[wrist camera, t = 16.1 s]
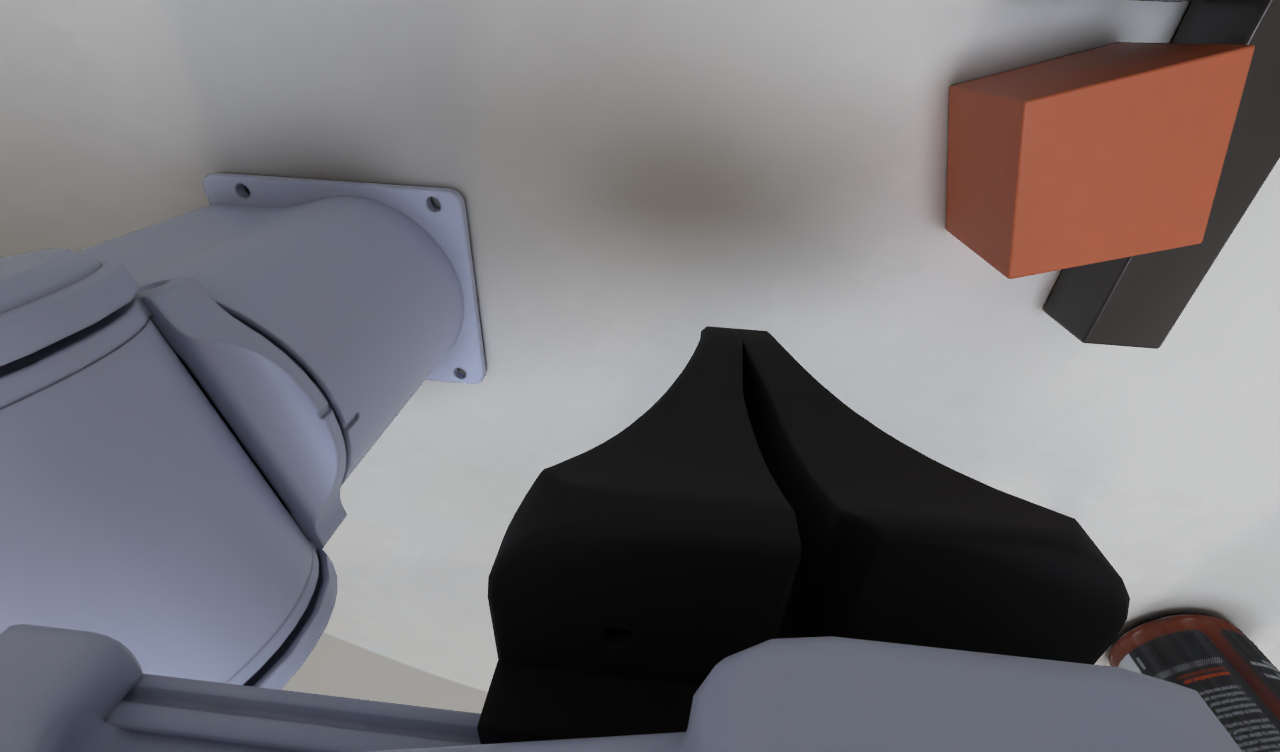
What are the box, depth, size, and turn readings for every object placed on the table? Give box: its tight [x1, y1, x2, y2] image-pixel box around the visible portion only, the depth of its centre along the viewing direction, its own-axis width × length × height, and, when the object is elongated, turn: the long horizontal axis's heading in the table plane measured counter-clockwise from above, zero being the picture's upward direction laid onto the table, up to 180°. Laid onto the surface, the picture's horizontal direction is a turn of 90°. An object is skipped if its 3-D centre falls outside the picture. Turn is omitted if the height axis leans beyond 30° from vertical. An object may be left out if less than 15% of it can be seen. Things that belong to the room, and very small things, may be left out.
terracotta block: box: [946, 42, 1255, 279], centre depth 15 cm, size 4×4×4 cm
